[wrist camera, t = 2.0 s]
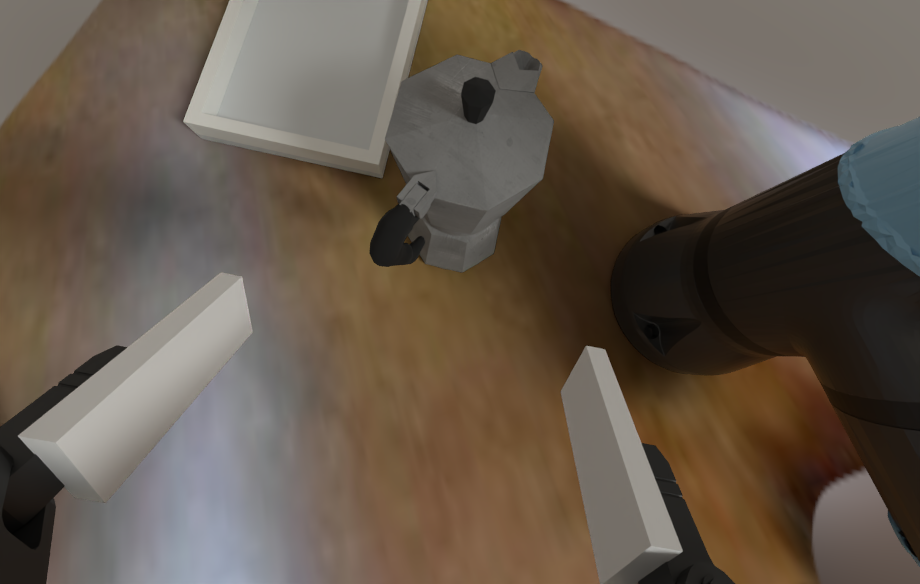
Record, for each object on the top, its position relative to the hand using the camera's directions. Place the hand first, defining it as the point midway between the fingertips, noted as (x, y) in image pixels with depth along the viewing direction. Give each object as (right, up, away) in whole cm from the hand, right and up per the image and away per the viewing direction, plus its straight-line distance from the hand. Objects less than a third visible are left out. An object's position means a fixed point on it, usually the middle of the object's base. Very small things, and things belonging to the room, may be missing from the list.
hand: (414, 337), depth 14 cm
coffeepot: (+1, +7, +20) cm, 21 cm away
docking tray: (-12, +27, +22) cm, 37 cm away
